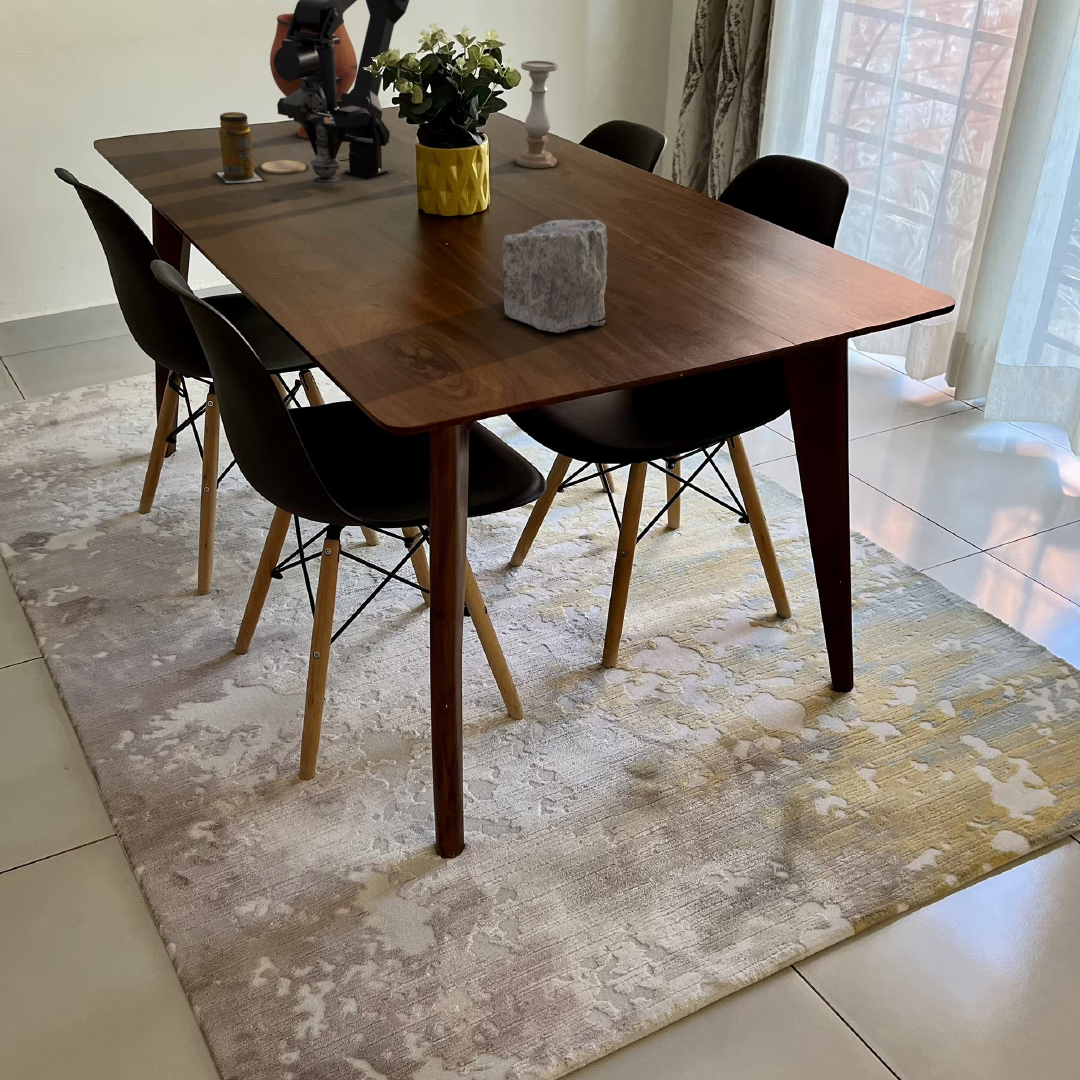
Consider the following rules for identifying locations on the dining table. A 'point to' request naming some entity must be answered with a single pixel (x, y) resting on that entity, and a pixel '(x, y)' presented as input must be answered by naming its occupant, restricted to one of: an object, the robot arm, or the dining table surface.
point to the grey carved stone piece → (324, 159)
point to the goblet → (343, 62)
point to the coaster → (283, 167)
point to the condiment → (236, 149)
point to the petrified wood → (556, 274)
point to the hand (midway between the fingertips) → (325, 157)
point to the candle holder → (537, 118)
